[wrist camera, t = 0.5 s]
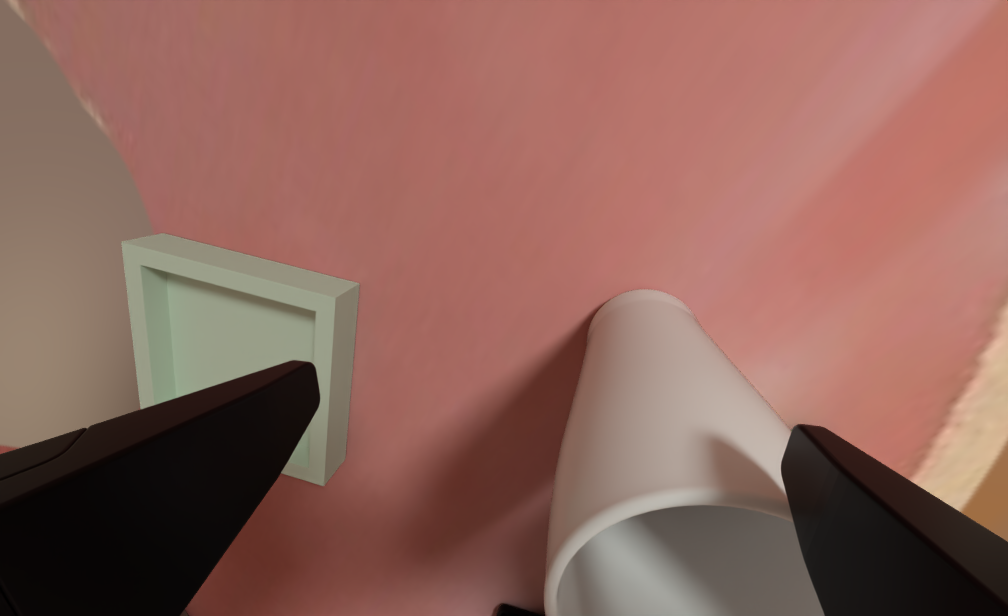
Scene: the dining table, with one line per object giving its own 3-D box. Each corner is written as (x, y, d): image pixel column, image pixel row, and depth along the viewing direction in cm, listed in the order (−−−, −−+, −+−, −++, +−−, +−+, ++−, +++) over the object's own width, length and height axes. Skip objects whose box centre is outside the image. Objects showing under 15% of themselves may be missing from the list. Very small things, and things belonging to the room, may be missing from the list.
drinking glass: (629, 418, 25) (671, 773, 11) (545, 326, 24) (473, 584, 10) (744, 346, 22) (986, 685, 8) (655, 241, 21) (762, 424, 8)
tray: (345, 459, 29) (323, 486, 27) (177, 408, 31) (143, 430, 28) (359, 283, 25) (335, 297, 23) (163, 233, 26) (121, 241, 24)
